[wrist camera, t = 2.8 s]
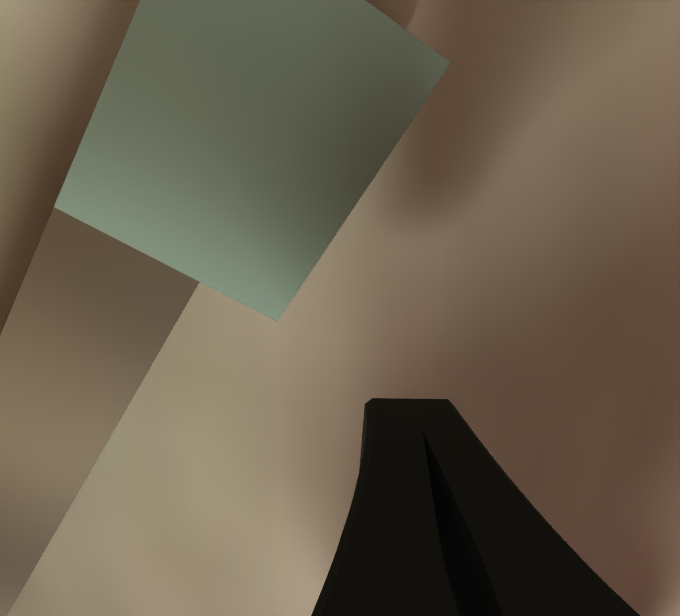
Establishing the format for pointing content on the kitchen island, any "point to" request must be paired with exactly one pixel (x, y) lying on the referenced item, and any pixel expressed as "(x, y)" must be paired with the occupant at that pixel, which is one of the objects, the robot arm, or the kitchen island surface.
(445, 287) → the kitchen island surface
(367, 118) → the bar
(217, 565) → the kitchen island surface
